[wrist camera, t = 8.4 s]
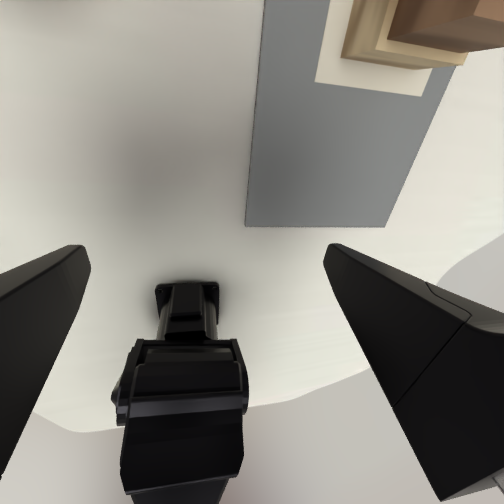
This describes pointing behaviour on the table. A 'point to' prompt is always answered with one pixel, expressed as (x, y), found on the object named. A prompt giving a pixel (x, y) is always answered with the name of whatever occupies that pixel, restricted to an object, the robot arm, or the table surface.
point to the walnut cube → (449, 24)
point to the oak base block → (387, 51)
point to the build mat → (331, 123)
